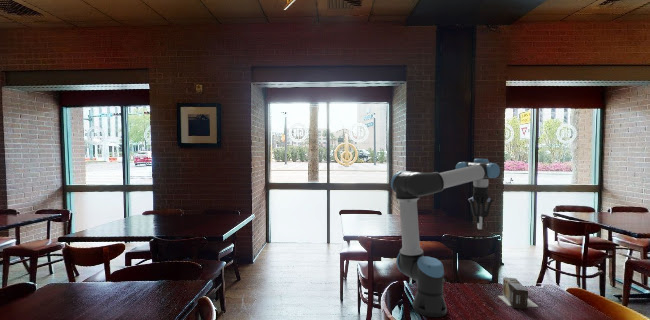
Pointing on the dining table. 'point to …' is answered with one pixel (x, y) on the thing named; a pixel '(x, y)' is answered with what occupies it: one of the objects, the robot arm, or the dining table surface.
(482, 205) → the robot arm
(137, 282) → the dining table surface
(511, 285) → the coffee box
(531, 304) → the mat
